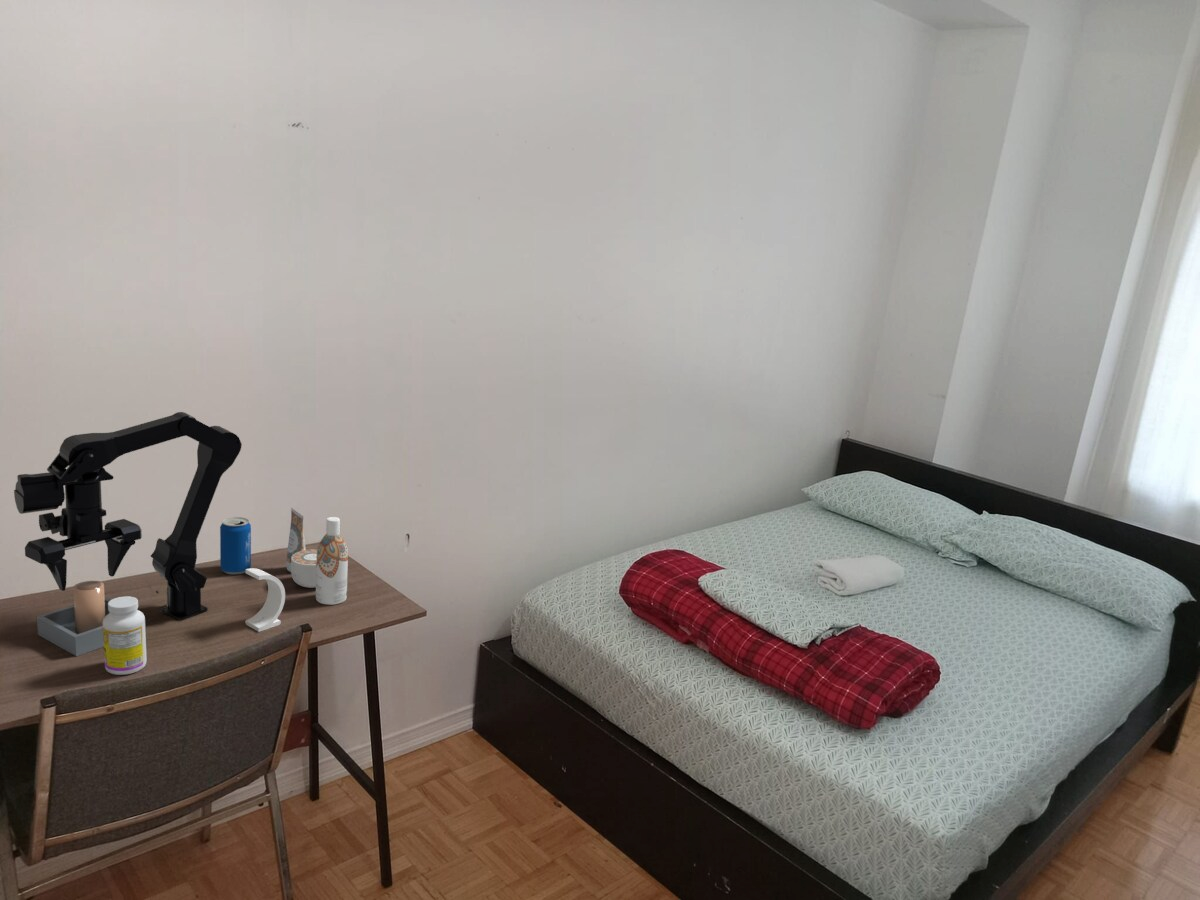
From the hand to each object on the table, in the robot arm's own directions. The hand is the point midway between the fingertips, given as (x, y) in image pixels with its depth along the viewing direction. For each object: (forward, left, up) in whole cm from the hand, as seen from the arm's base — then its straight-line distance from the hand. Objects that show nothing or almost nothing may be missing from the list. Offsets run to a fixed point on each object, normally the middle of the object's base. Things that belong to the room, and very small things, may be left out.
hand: (87, 582), depth 165 cm
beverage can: (+6, -37, -11) cm, 39 cm away
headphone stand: (-20, -24, -11) cm, 33 cm away
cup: (0, 0, -10) cm, 10 cm away
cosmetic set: (-12, -44, -11) cm, 47 cm away
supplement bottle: (-16, +3, -11) cm, 20 cm away
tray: (0, 0, -11) cm, 11 cm away
